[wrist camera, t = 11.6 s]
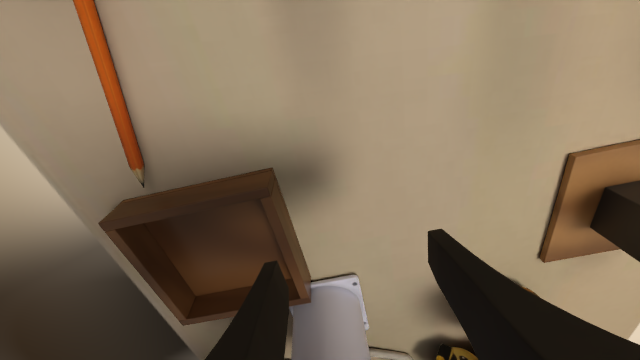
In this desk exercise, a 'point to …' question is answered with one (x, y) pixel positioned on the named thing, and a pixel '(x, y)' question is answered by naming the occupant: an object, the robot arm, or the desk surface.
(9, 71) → the desk surface
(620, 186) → the puzzle cube
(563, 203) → the cork mat
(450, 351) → the toy
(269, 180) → the walnut box
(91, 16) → the pencil
